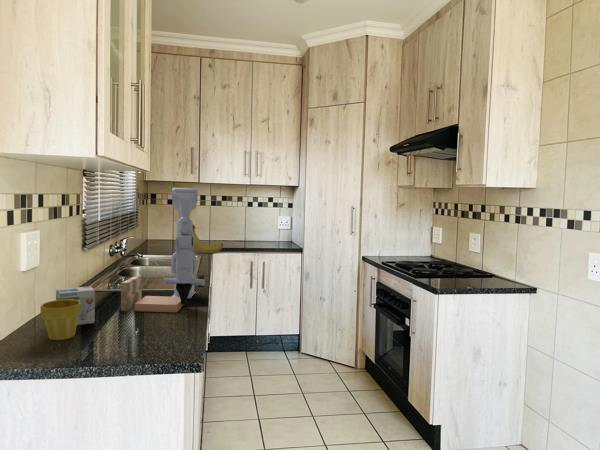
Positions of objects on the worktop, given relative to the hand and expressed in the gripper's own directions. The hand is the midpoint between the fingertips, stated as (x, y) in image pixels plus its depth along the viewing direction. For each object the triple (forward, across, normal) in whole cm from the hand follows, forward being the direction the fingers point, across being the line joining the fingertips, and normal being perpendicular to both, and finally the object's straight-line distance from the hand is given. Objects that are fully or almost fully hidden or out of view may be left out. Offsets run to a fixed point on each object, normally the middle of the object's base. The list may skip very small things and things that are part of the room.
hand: (183, 304), depth 165 cm
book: (+2, -8, 0) cm, 9 cm away
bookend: (+1, -19, +1) cm, 19 cm away
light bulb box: (+2, -29, -22) cm, 36 cm away
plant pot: (+2, -26, -36) cm, 44 cm away
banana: (+2, -22, +145) cm, 147 cm away
